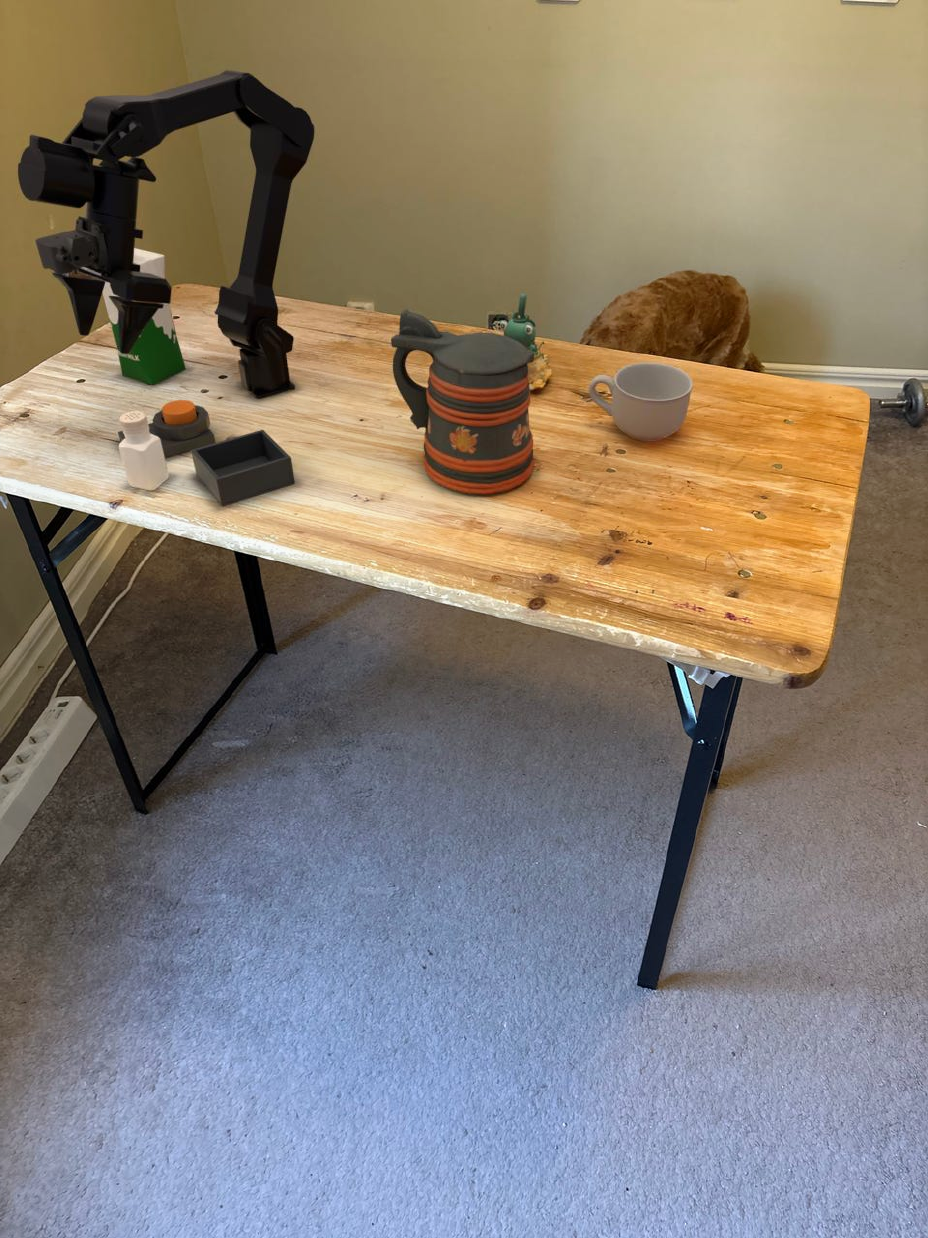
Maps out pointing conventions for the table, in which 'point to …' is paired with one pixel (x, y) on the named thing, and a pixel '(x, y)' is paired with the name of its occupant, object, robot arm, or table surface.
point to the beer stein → (468, 406)
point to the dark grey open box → (243, 467)
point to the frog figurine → (527, 344)
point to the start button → (179, 412)
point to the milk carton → (149, 333)
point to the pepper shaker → (141, 453)
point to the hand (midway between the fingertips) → (103, 344)
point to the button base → (181, 433)
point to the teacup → (646, 399)
